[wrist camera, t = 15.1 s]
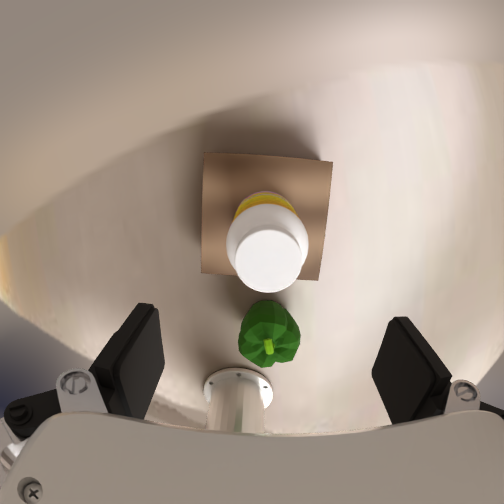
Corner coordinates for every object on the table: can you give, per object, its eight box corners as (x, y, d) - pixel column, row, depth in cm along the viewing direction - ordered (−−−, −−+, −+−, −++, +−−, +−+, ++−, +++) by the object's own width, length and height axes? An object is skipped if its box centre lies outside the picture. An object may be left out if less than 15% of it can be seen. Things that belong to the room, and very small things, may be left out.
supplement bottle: (228, 197, 31) (208, 225, 19) (288, 184, 30) (308, 203, 18) (243, 254, 33) (233, 312, 21) (300, 242, 32) (322, 294, 20)
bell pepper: (287, 341, 44) (293, 385, 34) (237, 333, 44) (231, 376, 34) (302, 296, 41) (313, 336, 32) (247, 286, 41) (244, 325, 31)
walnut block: (310, 262, 39) (318, 280, 34) (209, 256, 39) (201, 273, 34) (321, 161, 35) (332, 162, 29) (212, 153, 35) (204, 152, 29)
